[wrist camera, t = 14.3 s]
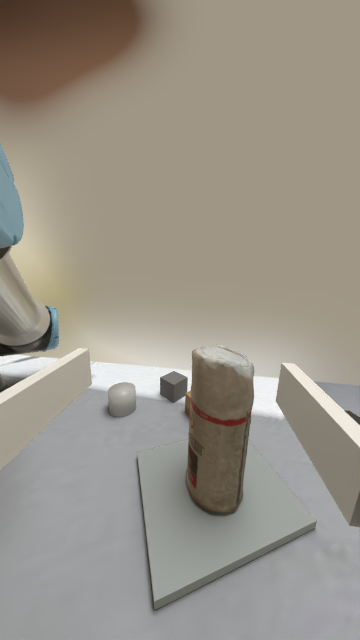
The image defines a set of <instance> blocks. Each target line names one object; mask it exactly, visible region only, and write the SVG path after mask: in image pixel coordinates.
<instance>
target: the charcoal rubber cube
mask: <svg viewBox="0 0 360 640" xmlns="http://www.w3.org/2000/svg"><path fill="white" fill-rule="evenodd" d="M186 393H187V377H185V376H183V375H181V374H179V373H177V372H175V371H173V372H171V373H169V374H167V375H165V376H163V377H160V395H162V396H163V397H165V398H167V399H168V400H170V401H172V402H173V403H174V402H176V401H178V400H179V399H181V398H182V397H184V396H185V395H186Z"/></svg>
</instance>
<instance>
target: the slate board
mask: <svg viewBox="0 0 360 640" xmlns="http://www.w3.org/2000/svg"><path fill="white" fill-rule="evenodd" d="M188 441H189V439H187V440H183V441H179V442H175V443H171V444H167V445H163V446H159V447H155V448H151V449H148V450H144V451H140V452H137V459H138V468H139V477H140V486H141V494H142V503H143V512H144V521H145V530H146V539H147V548H148V557H149V566H150V575H151V583H152V592H153V601H154V610H157V609H158V608H160V607H162V606H164V605H166V604H168V603H170V602H172V601H174V600H176V599H178V598H180V597H182V596H184V595H186V594H188V593H190V592H192V591H194V590H196V589H197V588H199V587H201V586H203V585H205V584H207V583H209V582H211V581H213V580H215V579H217V578H219V577H221V576H223V575H225V574H227V573H229V572H231V571H233V570H235V569H236V568H238V567H240V566H242V565H244V564H246V563H248V562H250V561H252V560H254V559H256V558H258V557H260V556H262V555H264V554H266V553H268V552H270V551H272V550H273V549H275V548H277V547H279V546H281V545H283V544H285V543H287V542H289V541H291V540H293V539H295V538H297V537H299V536H301V535H303V534H305V533H307V532H309V531H311V530H312V529H314V528H315V527H316V522H317V520H316V519H315V518H314V517H313V515H312V514H311V513H310V512H309V511H308V509H307V508H306V507H305V506H304V505H303V503H302V502H301V501H300V500H299V499H298V497H297V496H296V495H295V494H294V492H293V491H292V490H291V489H290V488H289V486H288V485H287V484H286V483H285V482H284V480H283V479H282V478H281V477H280V476H279V474H278V473H277V472H276V471H275V469H274V468H273V467H272V466H271V465H270V463H269V462H268V461H267V460H266V459H265V457H264V456H263V455H262V454H261V453H260V451H259V450H258V449H257V448H256V446H255V445H254V444H253V443H252V442H251V440H250V439H249V438H248V447H247V456H246V463H245V471H244V478H243V480H244V482H243V499H242V501H241V503H240V505H239V506H238V508H237V509H236V510H235V511H232V512H228V513H227V512H226V513H213V512H209V511H207V510H206V509H204V508H202V507H201V506H199V505H198V504H197V503H196V502H195V501H194V500H193V498H192V497H191V495H190V492H189V489H188V486H187V483H186V470H187V463H188Z"/></svg>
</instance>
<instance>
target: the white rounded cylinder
mask: <svg viewBox="0 0 360 640" xmlns="http://www.w3.org/2000/svg"><path fill="white" fill-rule="evenodd" d="M108 399H109V412H110V414H111V415H112V416H114V417H125V416H128V415H130V414H132V413H133V412H134V411H135V409H136V393H135V386H134V385H133V384H131V383H126V382H125V383H118V384H115V385H113V386H112V387H110V388H109V390H108Z"/></svg>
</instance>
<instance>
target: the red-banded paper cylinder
mask: <svg viewBox="0 0 360 640" xmlns="http://www.w3.org/2000/svg"><path fill="white" fill-rule="evenodd" d="M253 376H254V366H253V364H252V363H251V362H250V361H249V360H248V358H247V356H246V355H244V354H243V353H241V352H239V351H237V350H234V349H231V348H229V347H226V346H220V345H216V346H212V347H208V348H206V347H200V348H196V349H195V350H193V351H192V386H191V402H190V418H189V419H190V424H189V441H188V463H187V470H186V483H187V486H188V489H189V492H190V495H191V497H192V498H193V500H194V501H195V502H196V503H197V504H198V505H199V506H201V507H202V508H204V509H206V510H207V511H209V512H213V513H226V512H227V513H228V512H232V511H235V510H236V509H237V508H238V506H239V505H240V503H241V501H242V499H243V482H244V480H243V478H244V471H245V463H246V456H247V447H248V437H249V427H250V423H251V410H252V405H253V400H254V388H253Z"/></svg>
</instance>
